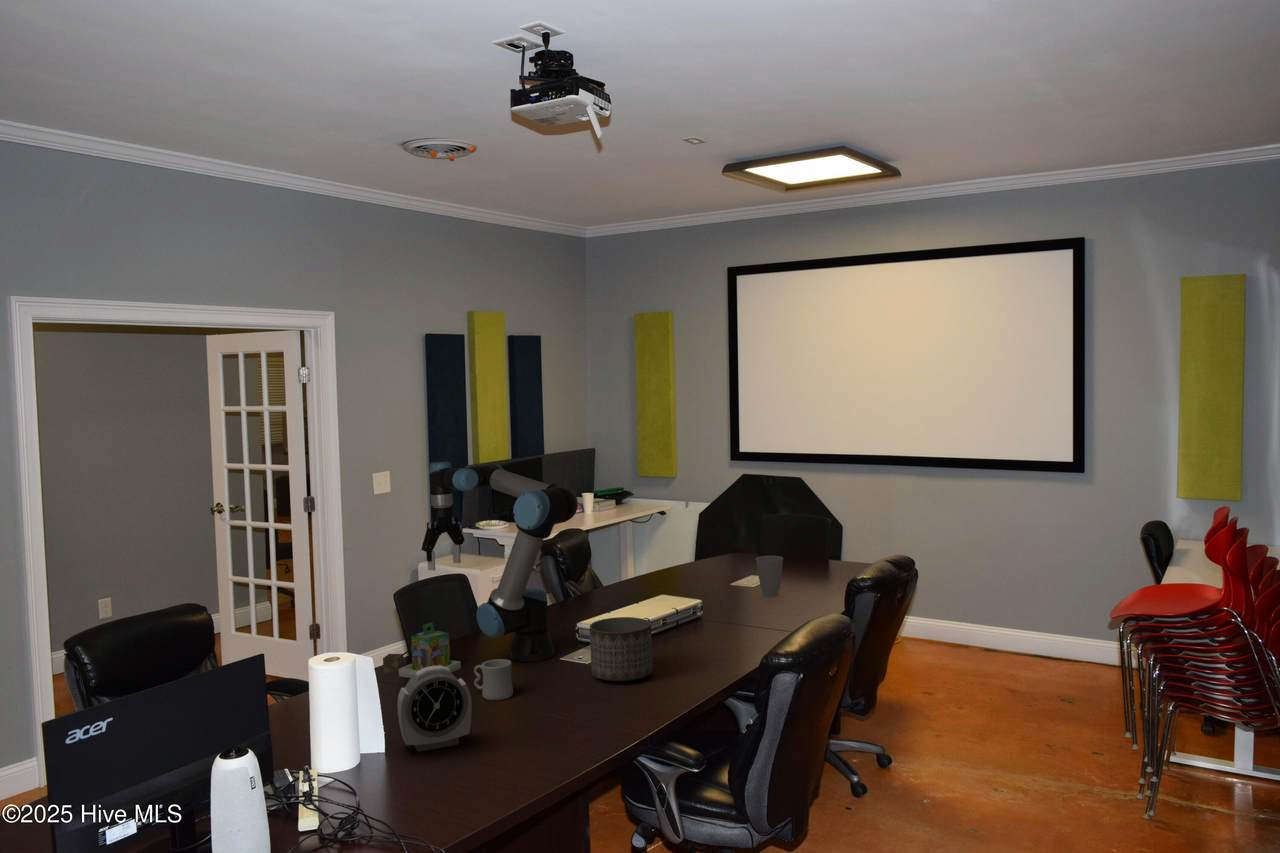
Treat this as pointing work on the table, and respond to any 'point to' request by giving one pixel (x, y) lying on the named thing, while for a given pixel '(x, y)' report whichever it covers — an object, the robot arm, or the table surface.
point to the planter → (621, 649)
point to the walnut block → (393, 663)
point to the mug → (495, 679)
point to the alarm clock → (434, 709)
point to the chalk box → (430, 648)
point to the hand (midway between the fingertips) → (444, 566)
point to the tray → (409, 672)
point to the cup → (769, 574)
